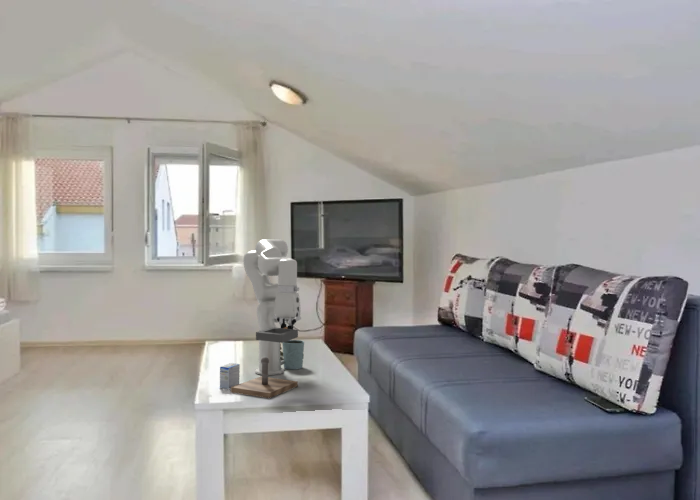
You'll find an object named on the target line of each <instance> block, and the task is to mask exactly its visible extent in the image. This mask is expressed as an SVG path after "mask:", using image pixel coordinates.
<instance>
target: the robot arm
mask: <svg viewBox="0 0 700 500" xmlns="http://www.w3.org/2000/svg"><path fill="white" fill-rule="evenodd" d="M288 247H289V246H288V244H287V242H286V241H285V240H284V239H275V238H274V239H271V238H270V239H269V238H268V239H266V238H265V239H261V240H259V241H257V243H256V245H255V250H250V251H248V252H246V253H245V254H244V256H243V261H242V262H243V268H244V271H245V274H246V275H247V277H248V279H249V280H250V283H251V286H252V289H253V292H254V295H255V299H256V301H257V303H258V305H257V307H256V316H257V324H258V331H262V330H265V329H268V328H271V327H275V328H278V326H276V323H279V326H280V328H285V327H287V329H294V325H295V324H296V323H297V322H299V321H301V320H302V317H301V314H302V313H301V311H302V310H301V299H300V295H299V294H300V293H299V291H300V287H298V283H297V282H298V281H297V280H298V262H297V260H296V259H293V258H291V257H287V256H288V254H289V253H288V251H289V248H288ZM270 276H271V277H275V276H278V277H277V279H278V280H277V283H273V282H272V281H271V279H270ZM287 323H288V325H287ZM280 344H281V343H279V342H270V341H261V340H258V368H256V369H255V370H254V373H255V374H256V375H260V376H262V363H261V359H262V358H263V357H267V358H268V359H269V363H268V376H275V375H281V374H283V373H284V372H285V371H284V369H285V368H284V367H283V368H282V365H283V366H284V364H285V361H284V359H283V360H281V352H280V351H281V350H280Z"/></svg>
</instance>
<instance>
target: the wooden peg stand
mask: <svg viewBox="0 0 700 500" xmlns="http://www.w3.org/2000/svg"><path fill="white" fill-rule="evenodd" d="M261 363H262V375H260V376H258V377H256V378H253V379H249V380H247V381H244V382H241V383H239V384H238V385H235V386H233V387H231V388H230V393H234V394H240V395H244V396H245V395H247V396H253V397H258V398H265V399H271V398H273V397H276V396H278V395H281V394H283V393H285V392H288V391H290V390H292V389H295V388H297V387H298V386H299V385H298V383H299V381H298V380H290V379H283V378H277V377H276V378H275V377H270V376H269V375H268V363H269V359H268V358H267V357H263V358H262V359H261Z"/></svg>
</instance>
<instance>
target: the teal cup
mask: <svg viewBox="0 0 700 500" xmlns="http://www.w3.org/2000/svg"><path fill="white" fill-rule="evenodd" d="M281 346H282V354H283V355H282V357H283V360H284V361H285V364H283V369H287V370H301V369H302V368H303V363H304V360H303V359H304V352H305V351H304V349H305V341H304V340H300V339H299V340H298V339H292V340H289V341H286V342H283V343H281Z"/></svg>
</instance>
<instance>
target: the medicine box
mask: <svg viewBox="0 0 700 500" xmlns="http://www.w3.org/2000/svg"><path fill="white" fill-rule="evenodd" d="M240 367H241V364H239V363H237V362H236V363H234V362H230V363H227V364H224V365H221V366H220V367H219V388H220V389H225V390H231V387H233V386H235V385H238V384H240Z"/></svg>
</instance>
